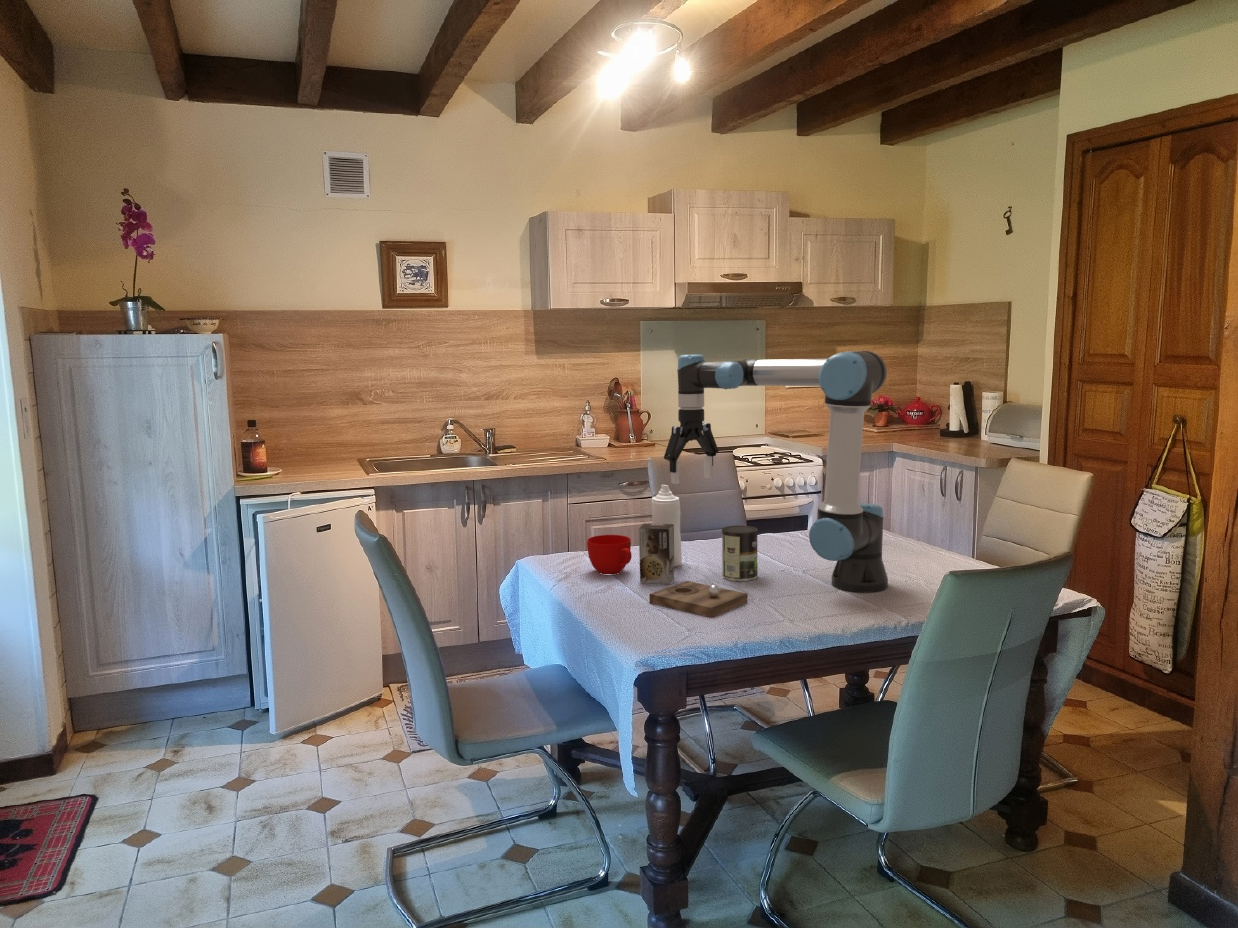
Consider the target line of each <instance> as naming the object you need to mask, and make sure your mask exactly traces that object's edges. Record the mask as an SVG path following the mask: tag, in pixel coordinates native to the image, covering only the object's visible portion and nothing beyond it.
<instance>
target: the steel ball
mask: <svg viewBox="0 0 1238 928" xmlns="http://www.w3.org/2000/svg"><path fill="white" fill-rule="evenodd" d="M709 586H710V587H709V588H708V594H709V595H710V596H711V597H717V596H718V595H719V594H720V588H721V587H720V586H718V585H717V584H711V585H709Z"/></svg>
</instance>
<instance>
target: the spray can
mask: <svg viewBox="0 0 1238 928" xmlns="http://www.w3.org/2000/svg"><path fill="white" fill-rule="evenodd" d="M660 487H661V488H660V489H659V491H658V492H657V493H658V494H656V495H655V496H653V497H651V500H650V501H651V515H652V518H651V519H652V524H674V567H679V566H681V565H682V564H683V556H682V555H683V554H682V539H681V504H680V503H681V502H680V497H678V496H675V495H674V494H673V492H672V491H671V489H670V487H669V485H667V484H661V486H660Z"/></svg>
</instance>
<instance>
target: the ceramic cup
mask: <svg viewBox="0 0 1238 928" xmlns="http://www.w3.org/2000/svg"><path fill="white" fill-rule="evenodd" d="M631 544H632V538H631V537H629V536H627V535H626V536H625V535H621V534H601V535H600V534H599V535H594V536H591V537H589V538H587V540H586V546H587V549H586V550H587V553H588V554H587V555H588V558H589V562H590V564H591V565H592V567H593V568H594V570H595V571H596V572H597V573H598V572H599V573H602V574H616V575H618V574H617V573H619V574H621V573H622V571H623V570H624V569H625V568H626V565H629V563H630V562H631V560H632V556H633V555H632V551H631V546H632V545H631ZM620 572H621V573H620ZM599 573H598V574H599Z"/></svg>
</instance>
